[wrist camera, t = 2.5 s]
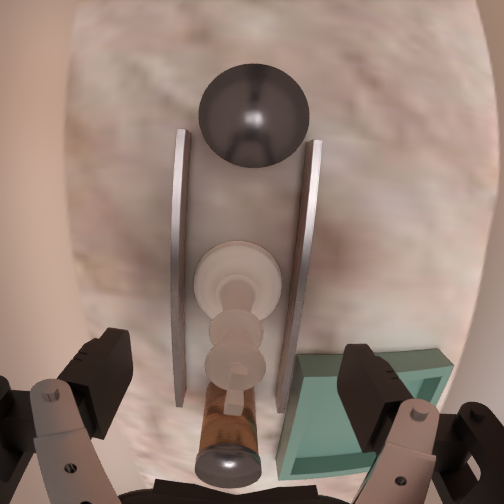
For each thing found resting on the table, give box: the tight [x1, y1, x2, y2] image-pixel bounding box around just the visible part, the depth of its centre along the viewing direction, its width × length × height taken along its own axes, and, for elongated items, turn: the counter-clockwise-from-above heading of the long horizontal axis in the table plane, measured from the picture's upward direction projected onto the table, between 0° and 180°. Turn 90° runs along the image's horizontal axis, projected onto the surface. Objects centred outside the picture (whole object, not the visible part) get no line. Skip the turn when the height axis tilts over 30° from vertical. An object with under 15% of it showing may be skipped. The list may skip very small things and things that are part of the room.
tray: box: [276, 349, 454, 480], centre depth 19 cm, size 11×11×2 cm
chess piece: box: [194, 241, 282, 416], centre depth 13 cm, size 5×5×10 cm
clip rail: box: [171, 64, 322, 488], centre depth 14 cm, size 19×7×7 cm, turn 175°
